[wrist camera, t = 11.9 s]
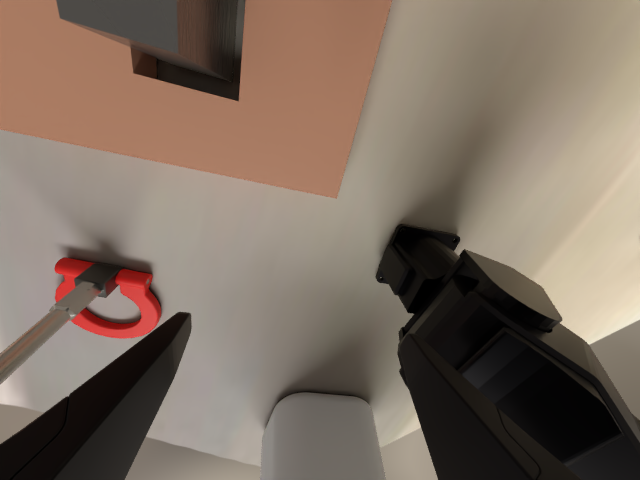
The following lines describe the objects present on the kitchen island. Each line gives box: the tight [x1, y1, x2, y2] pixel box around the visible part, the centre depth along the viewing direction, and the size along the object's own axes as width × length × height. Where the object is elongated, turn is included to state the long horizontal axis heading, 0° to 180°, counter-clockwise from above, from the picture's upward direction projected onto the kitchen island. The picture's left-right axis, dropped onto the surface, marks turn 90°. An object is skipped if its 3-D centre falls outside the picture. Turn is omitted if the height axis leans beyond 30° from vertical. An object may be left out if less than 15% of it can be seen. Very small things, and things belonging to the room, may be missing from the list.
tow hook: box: [0, 258, 161, 384], centre depth 17 cm, size 8×13×9 cm
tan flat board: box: [0, 0, 392, 199], centre depth 12 cm, size 20×16×2 cm
